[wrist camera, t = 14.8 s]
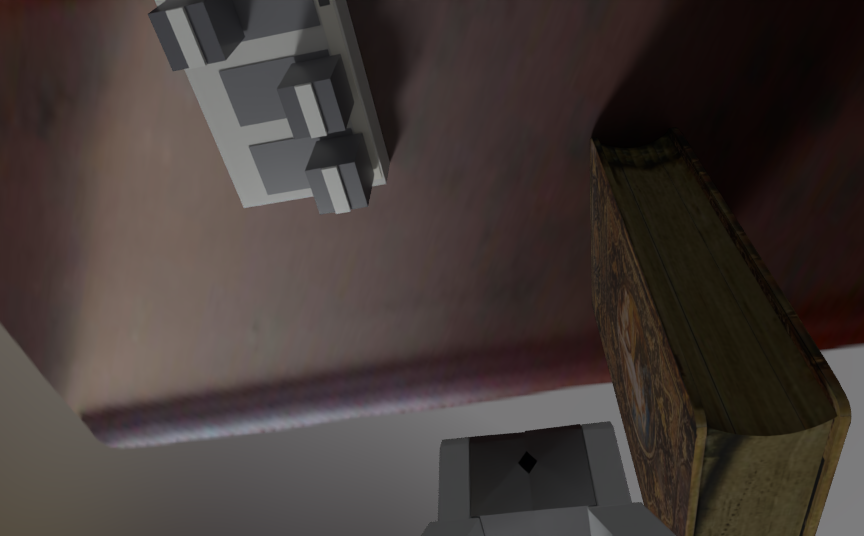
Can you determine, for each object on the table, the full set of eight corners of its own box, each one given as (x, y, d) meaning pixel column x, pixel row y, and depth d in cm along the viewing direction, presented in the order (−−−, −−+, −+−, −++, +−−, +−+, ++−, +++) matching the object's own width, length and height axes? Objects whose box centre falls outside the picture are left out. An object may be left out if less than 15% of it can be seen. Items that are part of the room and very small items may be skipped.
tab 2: (362, 132, 42) (353, 164, 38) (374, 174, 43) (367, 208, 40) (316, 141, 42) (303, 173, 39) (330, 182, 44) (319, 216, 40)
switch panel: (326, -71, 38) (317, -60, 35) (389, 162, 47) (385, 185, 44) (164, -34, 39) (144, -21, 37) (254, 186, 48) (243, 209, 45)
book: (661, 310, 54) (786, 630, 33) (592, 316, 54) (672, 634, 34) (673, 119, 44) (857, 405, 24) (589, 130, 45) (698, 418, 25)
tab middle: (340, 53, 39) (329, 80, 35) (354, 102, 40) (345, 132, 37) (291, 63, 39) (275, 90, 36) (307, 111, 41) (293, 141, 37)
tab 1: (225, -18, 37) (201, 3, 33) (245, 36, 38) (224, 62, 35) (174, -7, 37) (145, 15, 34) (196, 46, 39) (171, 72, 35)
